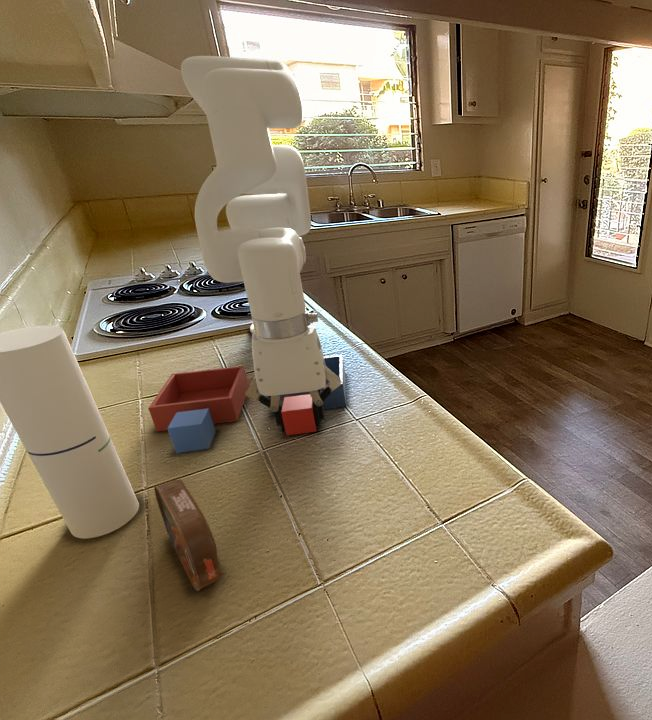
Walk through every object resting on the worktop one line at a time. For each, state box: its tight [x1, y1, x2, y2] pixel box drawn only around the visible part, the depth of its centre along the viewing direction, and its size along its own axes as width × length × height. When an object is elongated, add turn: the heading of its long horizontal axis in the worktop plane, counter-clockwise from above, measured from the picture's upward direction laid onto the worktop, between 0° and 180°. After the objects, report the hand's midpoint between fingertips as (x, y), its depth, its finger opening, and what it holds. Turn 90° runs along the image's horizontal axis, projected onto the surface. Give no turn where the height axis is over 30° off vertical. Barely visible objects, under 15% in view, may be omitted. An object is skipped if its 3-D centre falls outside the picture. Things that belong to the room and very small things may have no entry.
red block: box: [281, 394, 317, 436], centre depth 76 cm, size 5×5×5 cm
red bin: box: [147, 365, 250, 432], centre depth 82 cm, size 12×12×5 cm
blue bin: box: [272, 354, 347, 417], centre depth 86 cm, size 12×12×5 cm
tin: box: [153, 478, 224, 592], centre depth 52 cm, size 15×3×8 cm, turn 45°
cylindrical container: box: [0, 324, 140, 539], centre depth 54 cm, size 7×7×25 cm
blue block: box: [167, 408, 217, 454], centre depth 72 cm, size 5×5×5 cm
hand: (302, 423), depth 77 cm, fingers closed on red block, 4 cm apart
